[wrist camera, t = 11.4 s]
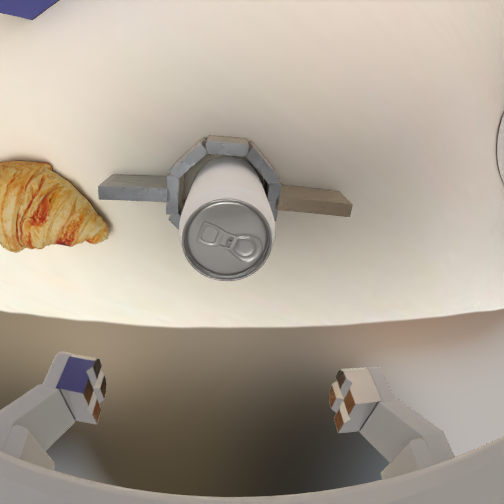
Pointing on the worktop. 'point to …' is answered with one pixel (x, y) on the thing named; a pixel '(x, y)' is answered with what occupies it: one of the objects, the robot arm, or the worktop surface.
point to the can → (227, 221)
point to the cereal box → (25, 7)
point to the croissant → (44, 209)
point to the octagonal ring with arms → (297, 194)
